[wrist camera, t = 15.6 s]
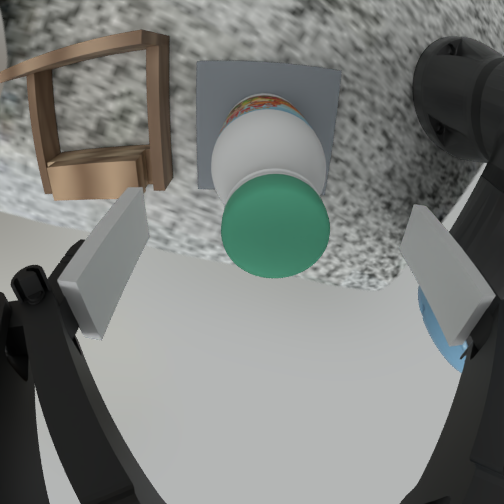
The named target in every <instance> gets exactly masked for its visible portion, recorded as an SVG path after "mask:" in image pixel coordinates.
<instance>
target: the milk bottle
mask: <svg viewBox="0 0 504 504" xmlns="http://www.w3.org/2000/svg"><path fill="white" fill-rule="evenodd" d="M211 173H212V179H213V183H214V187H215V189H216V192H217V194H218V196H219V198H220V199H221V201H222V203H223V204H224V205H225V208H224V213H223V217H222V225H221V237H222V241H223V245H224V248H225V250H226V252H227V254H228V256H229V257H230V258H231V260H232V261H233V262H234V263H235V264H236V265H237V266H238V267H240V268H241V269H243V270H244V271H246V272H248V273H250V274H253V275H256V276H260V277H264V278H283V277H289V276H293V275H296V274H298V273H301V272H303V271H305V270H306V269H308V268H309V267H311V266H312V265H313V264H314V263H316V262H317V260H318V259H319V258H320V257H321V256H322V254H323V253H324V251H325V249H326V247H327V244H328V241H329V235H330V222H329V218H328V215H327V211H326V208H325V206H324V204H323V202H322V200H321V197H320V195H321V193H322V190H323V187H324V184H325V179H326V159H325V155H324V151H323V148H322V145H321V143H320V141H319V139H318V137H317V135H316V134H315V132H314V130H313V129H312V128H311V126H310V125H309V124H308V122H307V121H306V120H305V118H304V117H303V116H302V115H301V113H300V112H299V111H298V110H297V109H296V108H295V107H294V106H293V105H292V104H291V103H290V102H289V101H287V100H286V99H284V98H282V97H280V96H277V95H274V94H268V93H260V94H254V95H251V96H248V97H246V98H244V99H242V100H241V101H240V102H238V103H237V104H236V105H235V106H234V107H233V109H232V110H231V111H230V113H229V115H228V116H227V118H226V120H225V122H224V124H223V126H222V128H221V131H220V133H219V135H218V138H217V140H216V143H215V146H214V150H213V153H212V161H211Z"/></svg>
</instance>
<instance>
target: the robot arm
mask: <svg viewBox="0 0 504 504" xmlns="http://www.w3.org/2000/svg"><path fill="white" fill-rule="evenodd" d="M413 98H414V104H415V109H416V113H417V116H418V118H419V121H420V123H421V125H422V127H423V129H424V131H425V132H426V134H427V135H428V136H429V138H430V139H431V140H432V141H433V142H434V143H435V144H436V145H437V146H439V147H440V148H442V149H443V150H445V151H446V152H448V153H449V154H451V155H453V156H455V157H457V158H460V159H463V160H469V161H477V162H484V163H487V165H486V167H485V169H484V171H483V173H482V175H481V176H480V178H479V180H478V183H477V184H476V186H475V188H474V190H473V192H472V194H471V195H470V197H469V199H468V201H467V203H466V204H465V206H464V208H463V210H462V211H461V213H460V215H459V216H458V218H457V220H456V222H455V223H454V225H453V227H452V228H451V230H450V231H449V232H448V231H447V230H446V228H445V227H444V226H443V225H442V224H441V222H440V221H439V220H438V219H437V218H436V217H435V216H434V214H433V213H432V212H431V211H430V210H429V209H428V208H427V207H426V206H424V205H417V204H414V205H413V209H412V212H411V215H410V218H409V221H408V224H407V227H406V230H405V233H404V236H403V239H402V242H401V245H400V247H399V250H400V252H401V254H402V255H403V257H404V259H405V260H406V262H407V264H408V266H409V267H410V269H411V271H412V273H413V275H414V276H415V278H416V280H417V282H418V284H419V288H418V300H419V307H420V310H421V313H422V315H423V321H424V323H425V326H426V328H427V330H428V332H429V334H430V336H431V338H432V340H433V342H434V343H435V345H436V346H437V348H438V349H439V351H440V352H441V354H442V355H443V356H444V357H445V359H446V360H447V361H448V362H449V363H450V364H451V365H452V366H453V367H454V368H455V369H456V370H458V371H459V372H461V373H462V374H461V378H460V381H459V384H458V388H457V391H456V394H455V397H454V400H453V403H452V406H451V409H450V412H449V415H448V417H447V420H446V423H445V425H444V428H443V430H442V433H441V435H440V438H439V440H438V442H437V445H436V447H435V449H434V452H433V454H432V456H431V458H430V460H429V462H428V464H427V467H426V468H425V471H424V473H423V475H422V476H421V479H420V480H419V482H418V484H417V485H416V486H415V488H414V489H413V490H412V491H411V492H410V493H408V494H407V495H406V496H405V498H404V499H403V500H402V501H401V503H400V504H504V56H503V55H501V54H500V53H498V52H497V51H495V50H493V49H492V48H490V47H488V46H487V45H485V44H483V43H481V42H479V41H477V40H474V39H471V38H467V37H445V38H441V39H439V40H437V41H435V42H433V43H432V44H431V45H430V46H429V47H428V48H427V49H426V50H425V51H424V52H423V54H422V55H421V57H420V59H419V61H418V64H417V66H416V70H415V74H414V81H413ZM149 237H150V235H149V229H148V223H147V216H146V209H145V202H144V194H143V187H128V188H127V189H126V190H125V191H124V193H123V194H122V195H121V196H120V197H119V198H118V200H117V201H116V202H115V203H114V204H113V206H112V207H111V208H110V209H109V211H108V212H107V213H106V214H105V215H104V217H103V218H102V219H101V220H100V222H99V223H98V224H97V226H96V227H95V228H94V229H93V231H92V232H91V233H90V235H89V236H88V237H87V239H86V240H79V241H78V242H77V243H75V244H74V245H73V246H72V247H71V248H70V249H69V250H68V251H67V253H66V254H65V256H64V257H63V258H62V260H61V261H60V263H59V264H58V265H57V267H56V268H55V269H54V271H53V272H52V274H51V275H50V277H49V278H48V279H47V277H46V275H45V273H44V270H43V268H42V267H41V266H38V265H30V266H28V267H25V268H23V269H21V270H20V271H19V272H17V273H16V274H15V276H14V277H13V279H12V280H11V287H12V289H13V291H14V293H15V295H16V297H17V298H18V301H11V302H8V301H7V299H6V297H5V295H4V294H3V293H2V292H0V504H50V503H49V499H48V495H47V491H46V486H45V481H44V476H43V470H42V465H41V458H40V451H39V444H38V434H37V424H36V410H35V387H36V391H37V394H38V398H39V402H40V405H41V408H42V411H43V415H44V417H45V421H46V424H47V427H48V430H49V433H50V435H51V438H52V441H53V443H54V446H55V449H56V451H57V454H58V456H59V459H60V461H61V463H62V466H63V468H64V470H65V472H66V475H67V477H68V479H69V481H70V483H71V485H72V487H73V489H74V491H75V493H76V495H77V497H78V499H79V501H80V503H81V504H166V503H165V502H164V500H163V499H162V498H161V497H160V495H159V494H158V493H157V491H156V490H155V488H154V487H153V485H152V484H151V482H150V481H149V480H148V478H147V477H146V475H145V474H144V472H143V470H142V469H141V467H140V466H139V464H138V463H137V461H136V459H135V458H134V456H133V455H132V453H131V451H130V449H129V448H128V446H127V444H126V443H125V441H124V439H123V437H122V436H121V434H120V432H119V430H118V428H117V426H116V425H115V423H114V421H113V419H112V417H111V415H110V413H109V411H108V409H107V407H106V405H105V403H104V401H103V399H102V397H101V394H100V392H99V390H98V388H97V386H96V384H95V381H94V379H93V377H92V374H91V372H90V370H89V367H88V365H87V363H86V360H85V358H84V355H83V352H82V350H81V347H80V344H79V342H78V339H77V338H76V336H75V334H76V332H77V330H78V328H80V330H81V331H82V333H83V335H84V337H86V338H92V339H97V340H102V339H103V336H104V334H105V332H106V329H107V327H108V324H109V322H110V320H111V317H112V315H113V313H114V310H115V308H116V306H117V304H118V301H119V299H120V297H121V295H122V292H123V290H124V288H125V286H126V284H127V282H128V280H129V278H130V275H131V273H132V271H133V269H134V267H135V265H136V263H137V261H138V259H139V257H140V255H141V253H142V251H143V249H144V247H145V245H146V243H147V241H148V239H149Z"/></svg>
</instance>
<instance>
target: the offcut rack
mask: <svg viewBox="0 0 504 504" xmlns="http://www.w3.org/2000/svg"><path fill="white" fill-rule="evenodd" d="M145 49H146V79H147V109H148V127H149V142H150V145H133V146H118V147H106V148H95V149H85V150H76V151H68V152H62V153H61V152H60V146H59V139H58V133H57V125H56V117H55V108H54V98H53V85H52V69H55V68H58V67H62V66H65V65H69V64H73V63H77V62H81V61H85V60H89V59H94V58H98V57H103V56H108V55H113V54H119V53H125V52H131V51H137V50H145ZM24 76H27V90H28V101H29V110H30V118H31V126H32V132H33V139H34V145H35V150H36V156H37V161H38V166H39V170H40V175H41V179H42V184H43V188H44V192H45V194H52V193H53V197H54V201H57V200H85V199H118V198H119V197H120V196H121V195H122V194H123V193H124V191H125V190H126V189H127V188H128V187H143V194H144V193H145V191H146V190H145V188H146V186H147V185H148V184H153V186H154V191H165V190H166V188H167V186H168V185H169V183H170V182H171V180H172V178H173V170H172V154H171V135H170V106H169V36H167V35H163V34H159V33H154V32H150V31H145V30H137V31H131V32H125V33H120V34H115V35H110V36H105V37H101V38H97V39H93V40H89V41H85V42H81V43H77V44H74V45H70V46H67V47H64V48H61V49H57V50H54V51H51V52H48V53H46V54H43V55H40V56H37V57H34V58H32V59H29V60H27V61H24V62H22V63H19V64H17V65H14V66H12V67H10V68H8V69H5V70H3V71H1V72H0V83H2V82H5V81H9V80H13V79H16V78H20V77H24Z"/></svg>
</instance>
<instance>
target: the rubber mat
mask: <svg viewBox="0 0 504 504" xmlns="http://www.w3.org/2000/svg"><path fill="white" fill-rule="evenodd" d="M340 81H341V71H340V70H334V69H328V68H321V67H314V66H306V65H297V64H287V63H275V62H258V61H197V79H196V124H197V171H198V189H215V187H214V183H213V179H212V173H211V161H212V153H213V150H214V146H215V143H216V140H217V138H218V135H219V133H220V131H221V128H222V126H223V124H224V122H225V120H226V118H227V116H228V115H229V113H230V111H231V110H232V109H233V107H234V106H235V105H236V104H237V103H238V102H240V101H241V100H242V99H244V98H246V97H248V96H251V95H254V94H260V93H268V94H274V95H277V96H280V97H282V98H284V99H286V100H287V101H289V102H290V103H291V104H292V105H293V106H294V107H295V108H296V109H297V110H298V111H299V112H300V113H301V115H302V116H303V117H304V118H305V120H306V121H307V122H308V124H309V125H310V126H311V128H312V129H313V130H314V132H315V134H316V135H317V137H318V139H319V141H320V143H321V145H322V148H323V151H324V155H325V159H326V179H325V184H324V187H323V190H322V193H321V195H325V190H326V184H327V178H328V172H329V165H330V159H331V152H332V145H333V138H334V131H335V123H336V115H337V107H338V99H339V90H340Z"/></svg>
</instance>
